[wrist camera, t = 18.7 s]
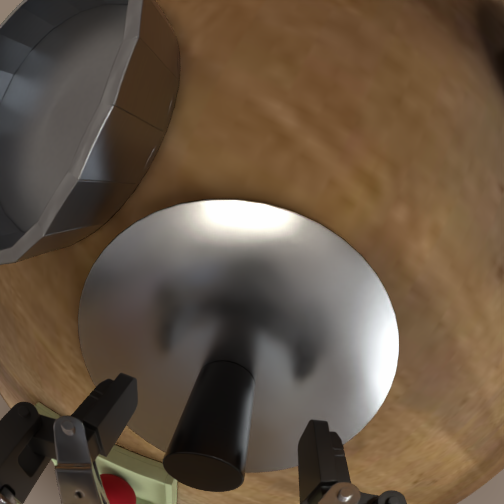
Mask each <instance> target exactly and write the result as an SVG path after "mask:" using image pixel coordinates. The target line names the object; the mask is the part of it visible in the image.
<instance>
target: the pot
mask: <svg viewBox="0 0 504 504" xmlns="http://www.w3.org/2000/svg"><path fill="white" fill-rule="evenodd" d="M179 76H180V52H179V48H178V43H177V38H176V36H175V34H174V31H173V29H172V27H171V25H170V24H169V22H168V20H167V18H166V16H165V14H164V12H163V11H162V9H161V8H160V6H159V5H158V3H157V2H156V1H155V0H23V1H22V2H21V3H20V4H19V5H18V6H17V7H16V8H15V9H14V10H13V11H12V12H11V13H10V15H9V16H8V17H7V18H6V19H5V20H4V21H3V22H2V24H1V25H0V265H2V264H9V263H16V262H19V261H22V260H25V259H28V258H31V257H34V256H37V255H40V254H44V253H47V252H50V251H54V250H57V249H60V248H64V247H67V246H70V245H73V244H74V243H76V242H77V241H79V240H82V239H83V238H85V237H87V236H88V235H90V234H92V233H93V232H95V231H96V230H97V229H99V228H100V227H101V226H102V225H103V224H105V223H106V222H107V221H108V220H109V219H110V218H111V217H112V216H113V215H114V214H115V213H116V212H117V211H118V210H119V209H120V208H121V207H122V206H123V204H124V203H125V202H126V200H127V199H128V198H129V197H130V195H131V194H132V193H133V191H134V190H135V189H136V187H137V186H138V184H139V182H140V181H141V179H142V178H143V176H144V175H145V173H146V172H147V170H148V168H149V166H150V164H151V162H152V160H153V159H154V157H155V155H156V153H157V151H158V149H159V147H160V144H161V142H162V140H163V137H164V135H165V133H166V130H167V128H168V125H169V121H170V118H171V115H172V112H173V109H174V105H175V101H176V96H177V92H178V86H179Z"/></svg>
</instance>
